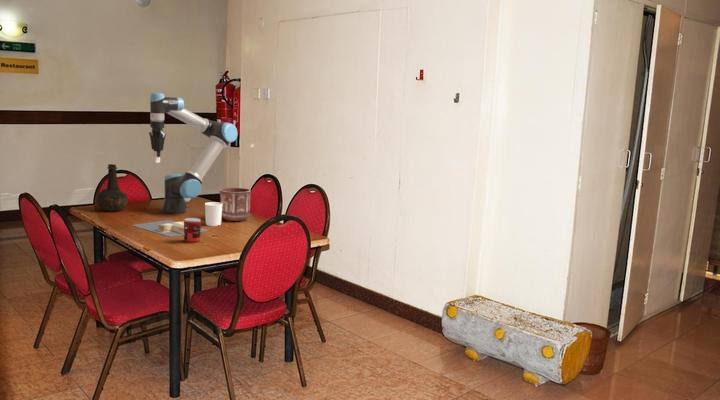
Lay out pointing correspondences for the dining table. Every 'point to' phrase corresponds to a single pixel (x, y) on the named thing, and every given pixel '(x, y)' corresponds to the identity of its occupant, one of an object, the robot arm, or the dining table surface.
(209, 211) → the candle holder
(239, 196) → the pottery
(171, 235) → the push mat
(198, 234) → the canned food
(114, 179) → the dark mottled flask
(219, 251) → the dining table surface
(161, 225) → the t block
